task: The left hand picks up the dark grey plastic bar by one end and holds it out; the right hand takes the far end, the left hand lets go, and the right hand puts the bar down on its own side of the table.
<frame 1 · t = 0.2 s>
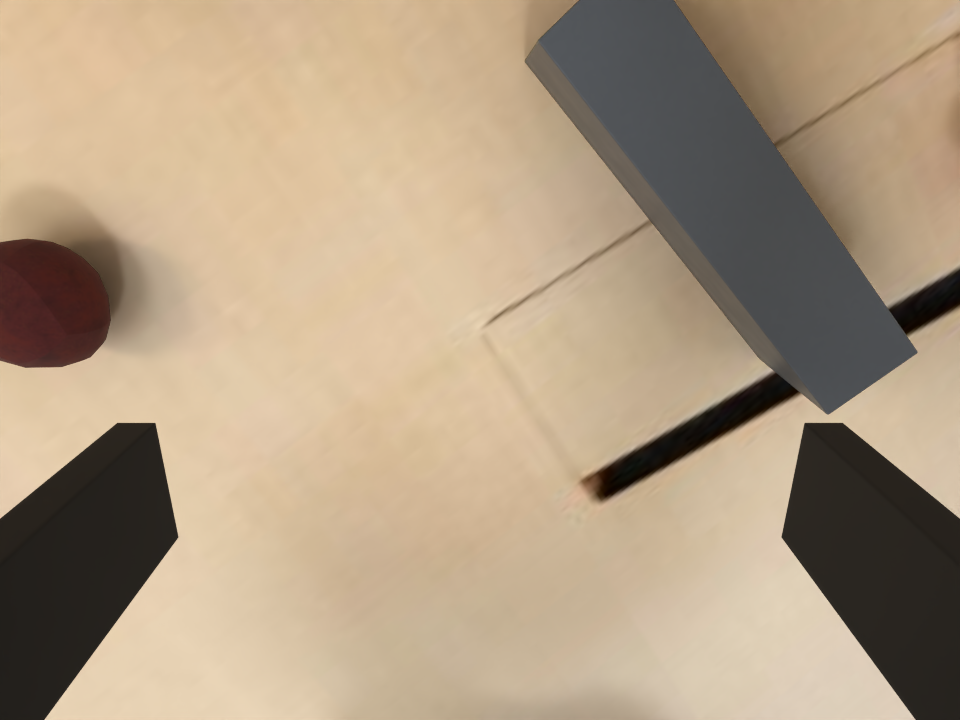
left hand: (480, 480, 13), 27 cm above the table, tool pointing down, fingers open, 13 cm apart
dark red ball: (76, 290, 40), on the table
bar: (687, 192, 37), on the table
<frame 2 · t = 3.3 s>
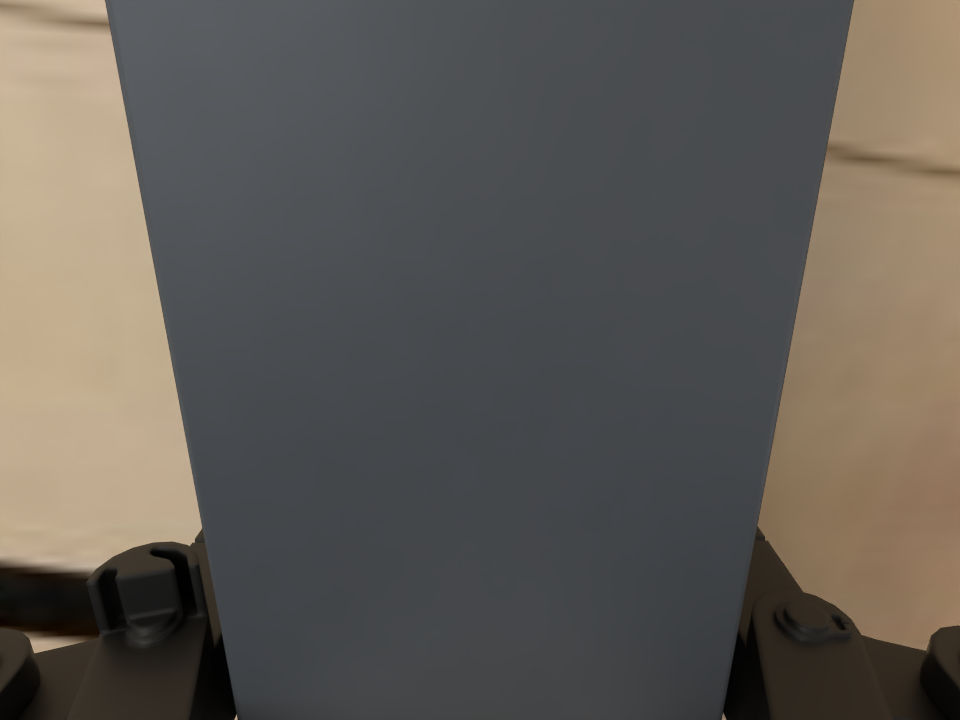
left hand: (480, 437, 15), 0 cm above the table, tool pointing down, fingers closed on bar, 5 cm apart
bar: (479, 68, 12), on the table, touching left hand
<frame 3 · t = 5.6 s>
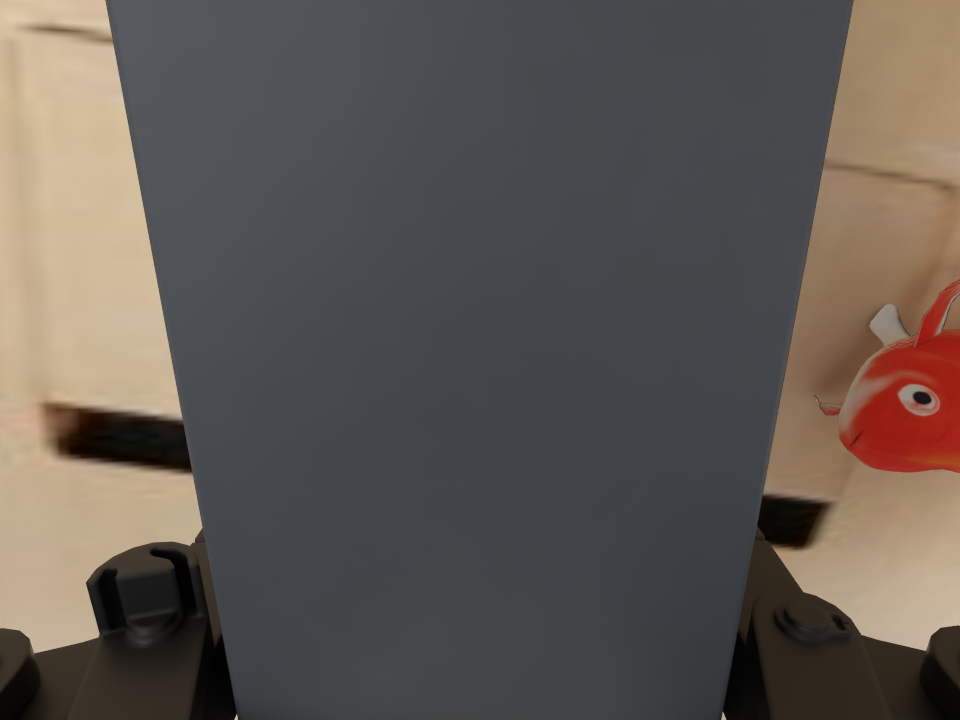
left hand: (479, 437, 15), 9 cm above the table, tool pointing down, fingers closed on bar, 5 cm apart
bar: (479, 68, 12), point 9 cm above the table, touching left hand
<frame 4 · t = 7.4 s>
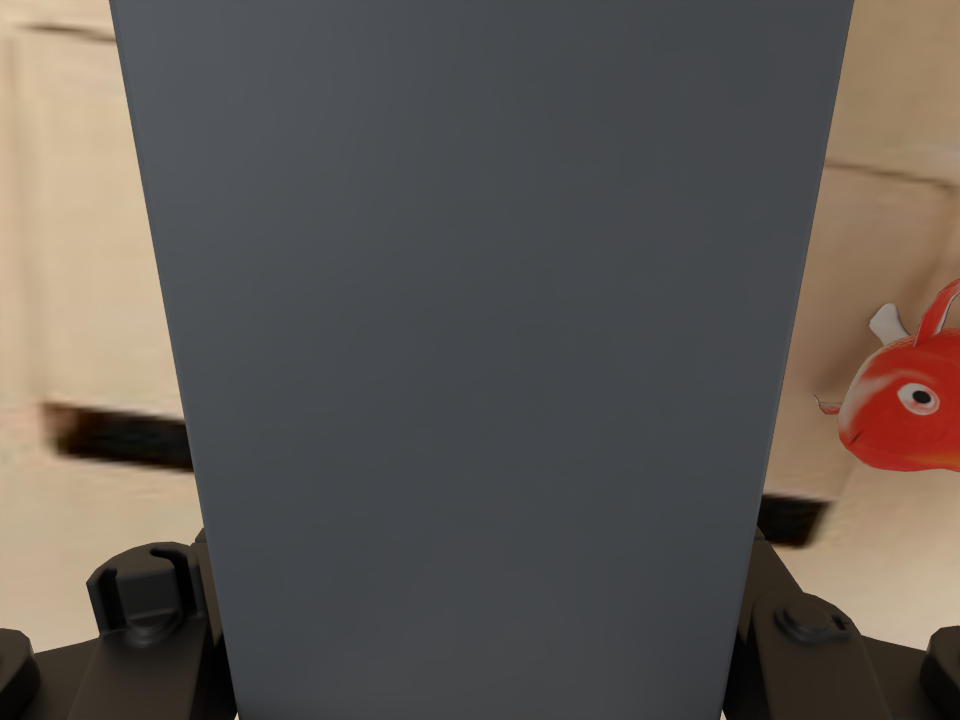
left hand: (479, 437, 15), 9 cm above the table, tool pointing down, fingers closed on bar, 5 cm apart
bar: (480, 68, 12), point 9 cm above the table, touching left hand, right hand
when the left hand's fingers open (9 cm above the table, at t = 8.3 s): bar stays where it is, held by the right hand.
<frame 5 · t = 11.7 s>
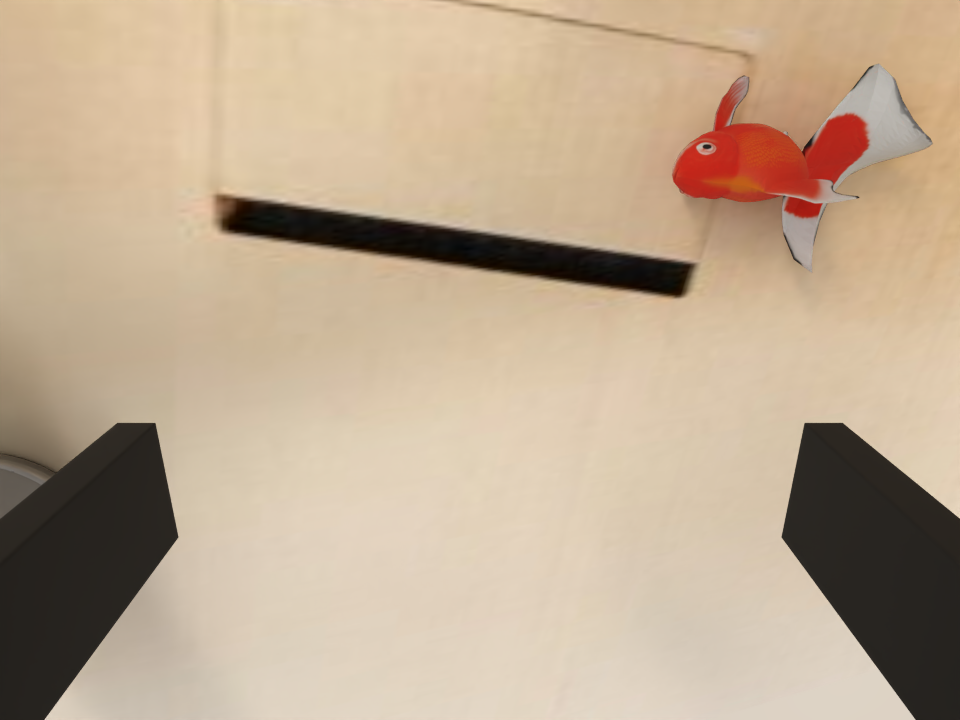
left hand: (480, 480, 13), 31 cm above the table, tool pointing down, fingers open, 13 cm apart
fish: (771, 155, 40), on the table
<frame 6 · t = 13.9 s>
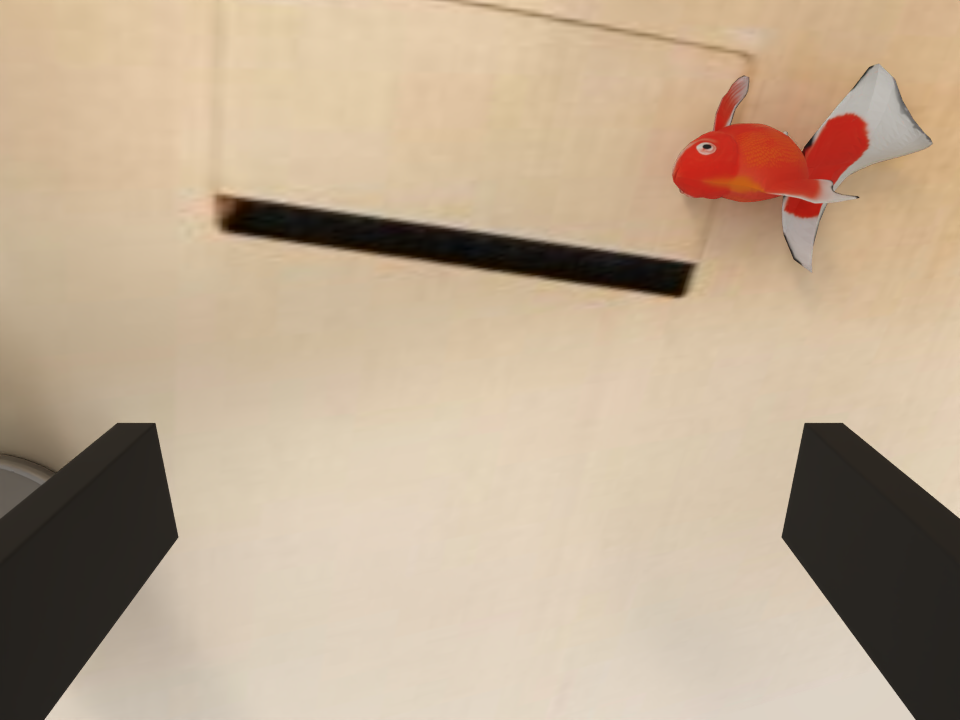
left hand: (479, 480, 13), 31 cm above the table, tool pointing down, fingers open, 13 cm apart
fish: (771, 155, 40), on the table
when the right hand's fingers open (4 cm above the table, at t = 15.9 s): bar stays where it is, on the table.
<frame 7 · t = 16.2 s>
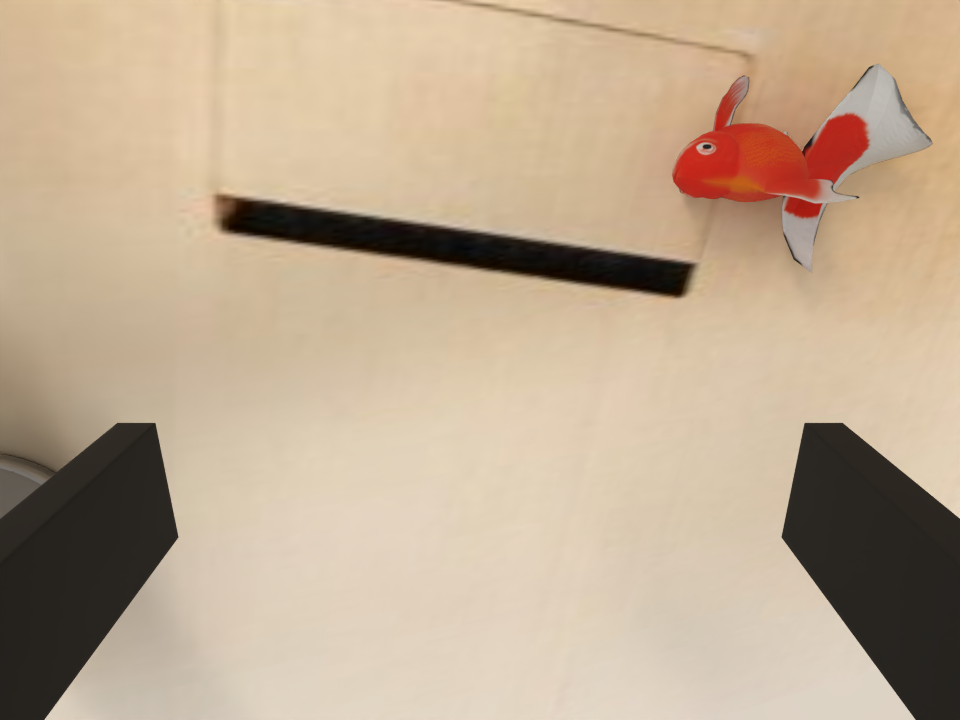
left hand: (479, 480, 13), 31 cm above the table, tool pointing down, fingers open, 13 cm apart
fish: (771, 155, 40), on the table
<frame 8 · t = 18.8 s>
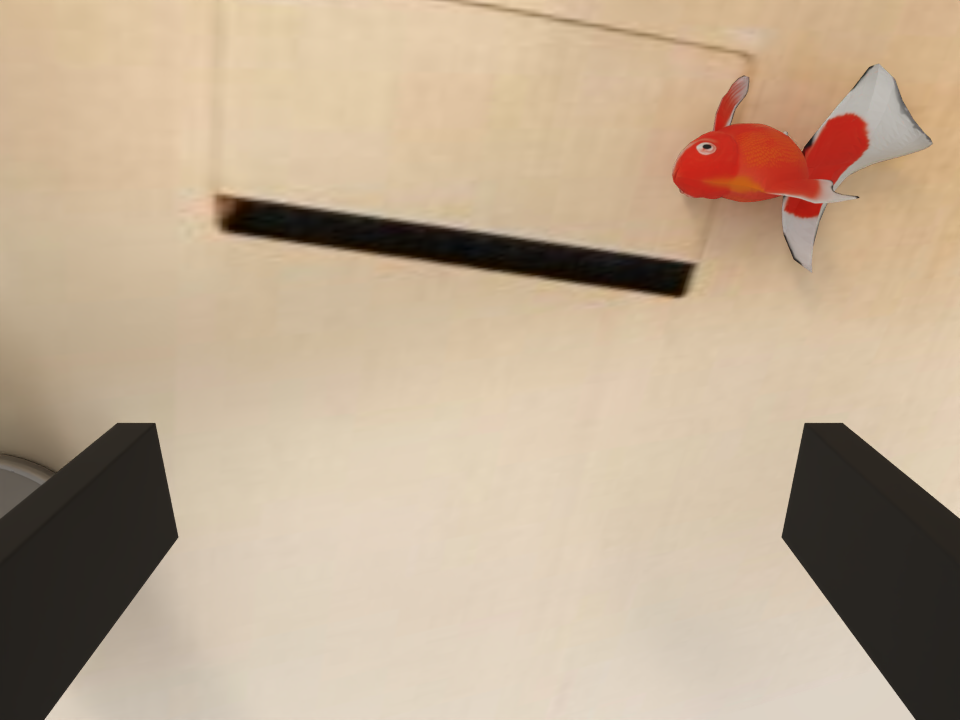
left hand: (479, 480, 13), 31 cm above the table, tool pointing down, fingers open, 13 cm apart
fish: (771, 155, 40), on the table
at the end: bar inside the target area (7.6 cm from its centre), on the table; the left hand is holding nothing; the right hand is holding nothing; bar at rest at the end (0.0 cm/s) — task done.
